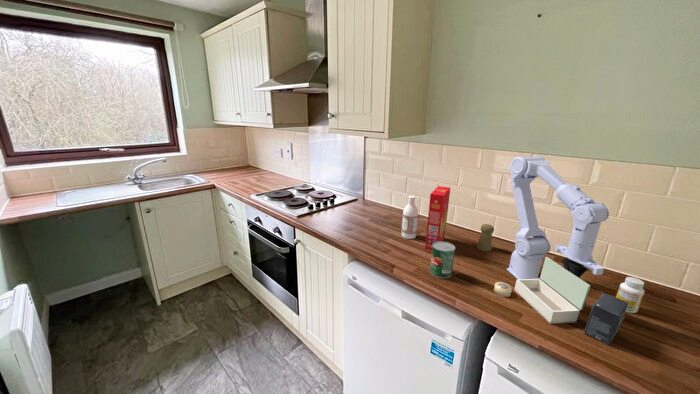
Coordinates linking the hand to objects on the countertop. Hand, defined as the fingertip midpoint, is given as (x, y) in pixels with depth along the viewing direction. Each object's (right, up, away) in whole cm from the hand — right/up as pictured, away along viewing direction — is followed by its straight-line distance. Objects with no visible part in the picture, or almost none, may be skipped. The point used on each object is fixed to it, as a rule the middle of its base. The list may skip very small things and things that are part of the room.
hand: (570, 282), depth 87 cm
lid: (-3, 0, 0) cm, 3 cm away
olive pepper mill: (-9, +4, +38) cm, 39 cm away
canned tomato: (-34, -2, +19) cm, 39 cm away
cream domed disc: (-17, -6, +8) cm, 19 cm away
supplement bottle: (+18, -8, +1) cm, 20 cm away
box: (+1, -11, -9) cm, 14 cm away
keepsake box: (-7, -7, +2) cm, 11 cm away
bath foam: (-40, +7, +49) cm, 63 cm away
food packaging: (-29, +5, +42) cm, 51 cm away
